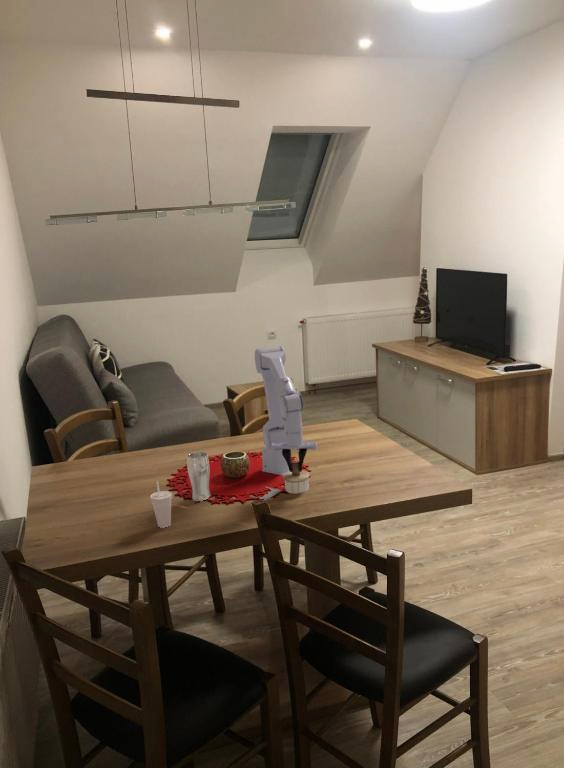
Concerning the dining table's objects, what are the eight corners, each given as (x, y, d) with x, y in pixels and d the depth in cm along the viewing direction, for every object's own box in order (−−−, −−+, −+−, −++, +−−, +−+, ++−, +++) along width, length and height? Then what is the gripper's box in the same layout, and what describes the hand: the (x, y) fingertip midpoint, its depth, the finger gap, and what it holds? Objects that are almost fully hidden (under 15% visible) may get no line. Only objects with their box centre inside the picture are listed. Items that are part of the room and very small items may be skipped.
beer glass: (215, 495, 208) (211, 451, 205) (206, 503, 202) (202, 459, 199) (196, 493, 211) (192, 450, 207) (187, 502, 204) (182, 458, 201)
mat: (243, 496, 206) (243, 495, 206) (260, 486, 213) (260, 485, 213) (265, 501, 201) (265, 500, 200) (282, 491, 208) (282, 490, 207)
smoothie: (154, 521, 191) (149, 478, 188) (176, 519, 192) (171, 476, 189) (152, 531, 185) (146, 486, 182) (174, 529, 186) (169, 484, 182)
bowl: (281, 491, 207) (280, 480, 207) (294, 483, 213) (293, 472, 212) (299, 496, 203) (299, 484, 202) (313, 487, 209) (312, 476, 208)
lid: (277, 478, 206) (276, 464, 205) (293, 470, 213) (292, 456, 212) (298, 483, 201) (297, 469, 200) (314, 474, 208) (313, 460, 206)
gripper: (269, 435, 201) (272, 475, 204) (315, 434, 199) (317, 474, 202) (272, 428, 207) (275, 467, 211) (316, 427, 206) (318, 466, 209)
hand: (295, 470), depth 207 cm, fingers closed on lid, 3 cm apart
